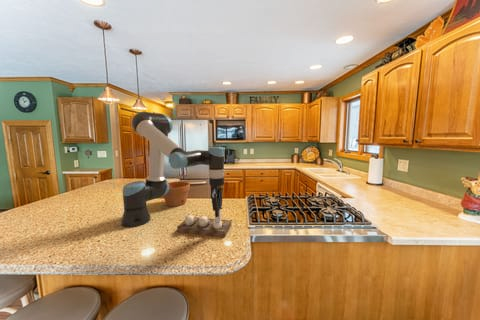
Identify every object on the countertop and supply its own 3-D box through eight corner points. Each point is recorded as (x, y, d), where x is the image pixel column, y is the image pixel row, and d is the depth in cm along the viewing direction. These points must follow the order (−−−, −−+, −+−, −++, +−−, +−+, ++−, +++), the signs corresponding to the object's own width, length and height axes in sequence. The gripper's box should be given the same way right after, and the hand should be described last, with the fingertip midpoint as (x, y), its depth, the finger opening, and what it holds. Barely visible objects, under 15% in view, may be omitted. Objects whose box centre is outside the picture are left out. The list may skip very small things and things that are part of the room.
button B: (197, 226, 99) (197, 219, 98) (201, 222, 103) (201, 215, 103) (205, 227, 98) (205, 219, 97) (208, 223, 102) (208, 216, 102)
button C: (212, 231, 97) (212, 223, 97) (215, 227, 102) (215, 220, 101) (220, 231, 96) (220, 224, 96) (223, 228, 101) (222, 220, 100)
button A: (183, 225, 100) (183, 218, 100) (187, 221, 105) (187, 214, 104) (191, 225, 99) (191, 218, 99) (195, 222, 104) (194, 215, 103)
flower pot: (173, 210, 130) (172, 189, 129) (155, 204, 142) (154, 185, 140) (196, 201, 148) (195, 183, 146) (178, 197, 159) (177, 180, 158)
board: (177, 232, 100) (177, 226, 99) (189, 221, 112) (188, 216, 112) (224, 237, 94) (224, 231, 94) (231, 225, 107) (231, 220, 106)
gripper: (219, 180, 89) (221, 228, 91) (227, 175, 101) (228, 217, 104) (204, 179, 90) (206, 226, 93) (214, 174, 103) (215, 216, 105)
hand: (217, 221), depth 98 cm, fingers closed
